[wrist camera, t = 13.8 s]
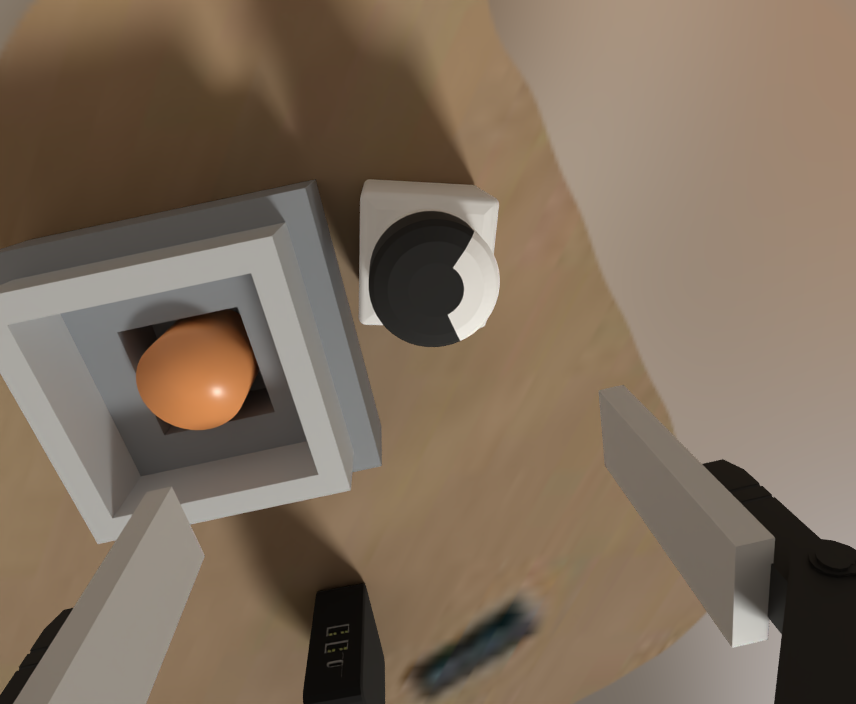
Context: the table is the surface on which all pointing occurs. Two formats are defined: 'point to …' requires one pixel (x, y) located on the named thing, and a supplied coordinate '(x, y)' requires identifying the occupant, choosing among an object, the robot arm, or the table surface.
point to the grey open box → (150, 318)
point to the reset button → (198, 371)
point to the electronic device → (344, 650)
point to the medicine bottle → (427, 259)
